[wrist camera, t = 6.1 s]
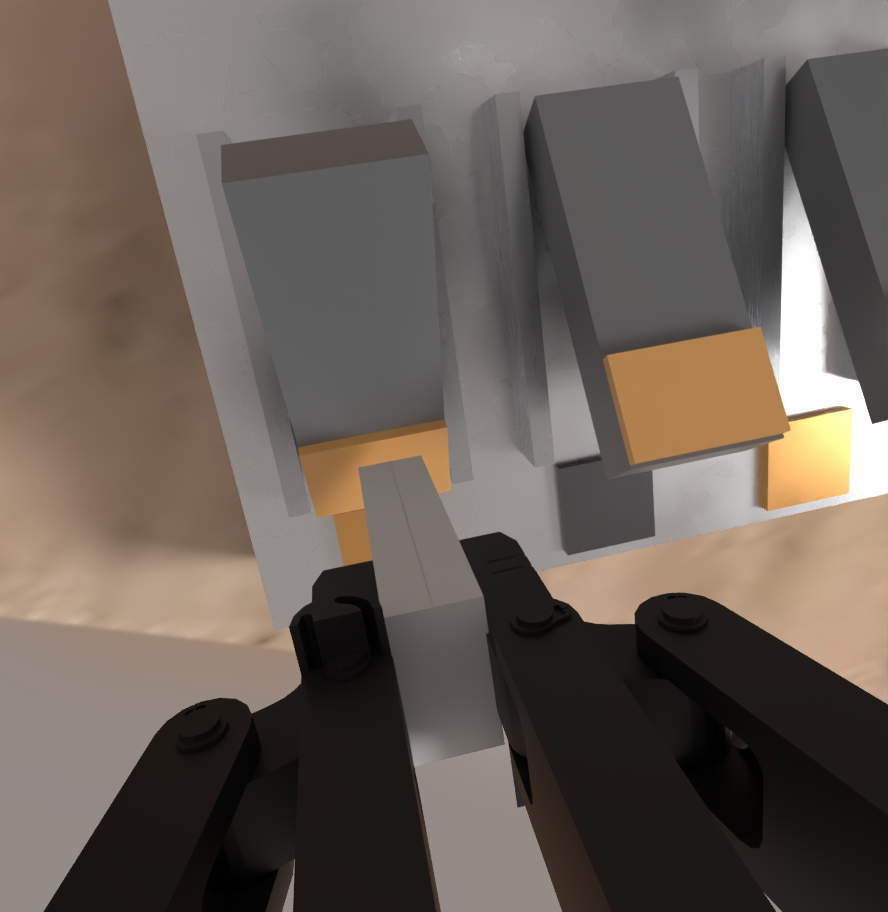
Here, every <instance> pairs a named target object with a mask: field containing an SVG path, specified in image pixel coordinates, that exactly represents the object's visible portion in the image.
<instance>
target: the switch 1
mask: <svg viewBox="0 0 888 912" xmlns="http://www.w3.org/2000/svg"><path fill="white" fill-rule="evenodd" d="M221 176H222V186H223V190H224V193H225V197H226V200H227V204H228V207H229V211H230V214H231V218H232V221H233V225H234V228H235V231H236V235H237V238H238V242H239V245H240V249H241V252H242V256H243V259H244V263H245V266H246V269H247V273H248V276H249V280H250V283H251V287H252V290H253V294H254V297H255V301H256V304H257V308H258V311H259V314H260V318H261V321H262V325H263V328H264V332H265V335H266V339H267V342H268V346H269V349H270V352H271V356H272V359H273V363H274V366H275V370H276V373H277V377H278V380H279V384H280V387H281V391H282V394H283V397H284V401H285V404H286V408H287V411H288V415H289V418H290V422H291V425H292V429H293V432H294V435H295V439H296V442H297V446H298V452H299V458H300V461H301V465H302V468H303V472H304V475H305V479H306V482H307V486H308V489H309V492H310V496H311V499H312V503H313V506H314V510H315V513H316V516H317V518H321V517H326V516H331V515H336V514H340V513H345V512H350V511H355V510H360V509H365V508H364V502H363V496H362V490H361V483H360V477H359V471H358V467H363V466H369V465H374V464H379V463H384V462H389V461H394V460H399V459H405V458H410V457H415V456H420V455H421V456H422V458H423V461H424V463H425V465H426V467H427V470H428V472H429V474H430V477H431V479H432V481H433V483H434V486H435V488H436V490H437V492H438V493H443V492H448V491H451V484H450V466H449V447H448V429H447V425H446V422H445V417H444V400H443V383H442V366H441V348H440V331H439V314H438V297H437V280H436V263H435V246H434V228H433V211H432V194H431V177H430V160H429V153H428V151H427V149H426V147H425V145H424V143H423V141H422V139H421V137H420V135H419V133H418V131H417V129H416V127H415V125H414V123H413V121H412V119H408V120H401V121H394V122H386V123H379V124H372V125H364V126H357V127H350V128H342V129H335V130H328V131H320V132H313V133H306V134H298V135H291V136H284V137H276V138H269V139H261V140H254V141H247V142H239V143H232V144H225V145H221Z"/></svg>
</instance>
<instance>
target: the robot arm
mask: <svg viewBox="0 0 888 912" xmlns="http://www.w3.org/2000/svg"><path fill="white" fill-rule="evenodd" d="M358 471H359V477H360V483H361V490H362V496H363V502H364V508H365V515H366V521H367V527H368V534H369V540H370V546H371V552H372V559H373V560H371V561H366V562H361V563H357V564H352V565H347V566H342V567H338V568H333V569H328V570H323V571H322V573H321V574H320V576H319V577H318V578H317V580H316V581H315V583H314V584H313V585H312V602H311V603H309V604H307V605H305V606H304V607H303V608H301V609H300V610H299V611H298V612H297V613H296V614H295V615H294V616H293V618H292V621H291V623H290V626H289V629H290V633H291V636H292V640H293V644H294V648H295V652H296V656H297V660H298V664H299V667H300V671H301V675H302V678H301V684H300V685H299V686H298V687H297V688H296V689H295V690H294V691H293V692H291V693H290V694H289V695H287V696H286V697H285V698H283V699H281V700H279V701H278V702H276V703H274V704H272V705H270V706H268V707H266V708H263V709H261V710H259V711H257V712H255V713H252V714H251V712H250V710H249V708H248V706H247V705H246V704H244V703H243V702H241V701H239V700H237V699H228V698H217V699H212V700H207V701H202V702H200V703H197V704H195V705H192V706H190V707H188V708H186V709H184V710H182V711H181V712H179V713H178V714H176V715H175V716H174V717H172V718H171V719H169V720H168V721H167V722H166V723H165V724H164V725H163V726H162V727H161V728H160V730H159V731H158V732H157V733H156V734H155V735H154V737H153V739H152V740H151V742H150V743H149V745H148V747H147V748H146V750H145V751H144V753H143V755H142V756H141V758H140V759H139V761H138V762H137V764H136V766H135V767H134V769H133V770H132V772H131V774H130V775H129V777H128V779H127V780H126V782H125V783H124V785H123V786H122V788H121V790H120V791H119V793H118V794H117V796H116V797H115V799H114V801H113V802H112V804H111V806H110V807H109V809H108V810H107V812H106V814H105V815H104V817H103V818H102V820H101V821H100V823H99V825H98V826H97V828H96V829H95V831H94V833H93V834H92V836H91V837H90V839H89V840H88V842H87V844H86V845H85V847H84V849H83V850H82V852H81V853H80V855H79V856H78V858H77V859H76V861H75V863H74V864H73V866H72V868H71V869H70V871H69V872H68V874H67V875H66V877H65V879H64V880H63V882H62V883H61V885H60V887H59V888H58V890H57V891H56V893H55V894H54V896H53V898H52V899H51V901H50V903H49V904H48V906H47V907H46V909H45V910H44V912H282V909H283V906H284V903H285V899H286V896H287V892H288V889H289V885H290V882H291V879H292V876H293V867H294V859H295V876H294V905H293V912H441V910H440V904H439V899H438V893H437V888H436V882H435V877H434V871H433V866H432V860H431V854H430V849H429V843H428V838H427V832H426V827H425V821H424V816H423V810H422V804H421V799H420V794H419V788H418V783H417V778H416V774H415V768H414V766H418V765H422V764H427V763H430V762H435V761H439V760H443V759H446V758H451V757H455V756H459V755H463V754H467V753H471V752H475V751H479V750H483V749H487V748H492V747H496V746H500V745H504V744H505V743H504V736H503V729H502V725H503V728H504V731H505V733H506V736H507V739H508V742H509V750H510V757H511V764H512V771H513V778H514V785H515V792H516V799H517V806H518V807H521V806H525V807H526V809H527V812H528V815H529V818H530V821H531V824H532V827H533V829H534V832H535V835H536V838H537V841H538V844H539V846H540V849H541V852H542V855H543V858H544V861H545V864H546V866H547V869H548V872H549V875H550V878H551V881H552V883H553V886H554V889H555V892H556V895H557V898H558V900H559V903H560V906H561V909H562V912H776V911H775V909H774V908H773V906H772V905H771V903H770V902H769V900H768V899H767V897H766V896H765V894H766V895H767V896H768V897H769V898H770V899H771V900H772V901H773V902H774V904H776V906H778V908H779V909H780V910H781V911H782V912H888V704H886V703H884V702H883V701H881V700H879V699H878V698H876V697H874V696H873V695H871V694H869V693H868V692H866V691H864V690H863V689H861V688H859V687H858V686H856V685H854V684H853V683H851V682H849V681H848V680H846V679H844V678H843V677H841V676H839V675H838V674H836V673H834V672H833V671H831V670H829V669H828V668H826V667H824V666H823V665H821V664H819V663H818V662H816V661H814V660H813V659H811V658H809V657H808V656H806V655H804V654H803V653H801V652H799V651H798V650H796V649H794V648H793V647H791V646H789V645H788V644H786V643H784V642H783V641H781V640H779V639H778V638H776V637H774V636H773V635H771V634H769V633H768V632H766V631H764V630H763V629H761V628H759V627H758V626H756V625H754V624H753V623H751V622H749V621H748V620H746V619H744V618H743V617H741V616H739V615H738V614H736V613H734V612H733V611H731V610H729V609H728V608H726V607H724V606H723V605H721V604H719V603H718V602H715V601H713V600H711V599H708V598H706V597H704V596H700V595H694V594H688V593H667V594H663V595H659V596H655V597H651V598H650V599H648V600H646V601H645V602H643V603H641V604H640V605H639V607H638V609H637V610H636V612H635V624H615V625H607V624H594V623H588V622H584V621H583V620H582V618H581V617H580V615H579V614H578V612H577V611H576V610H575V609H573V608H572V607H571V606H570V605H569V604H567V603H564V602H562V601H559V600H556V599H553V598H552V596H551V594H550V593H549V591H548V590H547V588H546V586H545V585H544V583H543V582H542V580H541V579H540V577H539V575H538V574H537V572H536V571H535V569H534V567H532V565H531V563H530V561H529V559H528V558H527V556H525V553H524V551H523V550H522V548H521V547H520V545H519V543H518V542H517V540H515V539H513V538H511V537H509V536H507V535H505V534H503V533H501V532H495V533H490V534H485V535H481V536H476V537H471V538H466V539H462V540H458V537H457V535H456V533H455V531H454V528H453V526H452V524H451V522H450V519H449V517H448V515H447V513H446V510H445V508H444V506H443V504H442V501H441V499H440V497H439V495H438V492H437V490H436V488H435V486H434V483H433V481H432V479H431V477H430V474H429V472H428V470H427V467H426V465H425V463H424V461H423V458H422V456H421V455H420V456H415V457H410V458H405V459H399V460H394V461H389V462H384V463H379V464H374V465H369V466H363V467H358ZM763 892H764V893H765V894H764V893H763Z"/></svg>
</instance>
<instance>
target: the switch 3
mask: <svg viewBox="0 0 888 912" xmlns="http://www.w3.org/2000/svg"><path fill="white" fill-rule="evenodd" d="M784 145H785V149H786V152H787V155H788V158H789V161H790V165H791V168H792V171H793V174H794V177H795V181H796V184H797V187H798V190H799V193H800V197H801V200H802V203H803V206H804V209H805V213H806V216H807V219H808V222H809V225H810V229H811V232H812V235H813V238H814V241H815V244H816V248H817V251H818V254H819V257H820V260H821V264H822V267H823V270H824V273H825V276H826V280H827V283H828V286H829V289H830V292H831V296H832V299H833V302H834V305H835V308H836V312H837V315H838V318H839V321H840V324H841V328H842V331H843V334H844V337H845V340H846V344H847V347H848V350H849V353H850V356H851V360H852V363H853V366H854V369H855V372H856V376H857V379H858V382H859V385H860V388H861V391H862V395H863V398H864V401H865V404H866V407H867V411H868V414H869V417H870V420H871V423H872V424H876V423H881V422H886V421H888V48H886V49H879V50H872V51H864V52H857V53H849V54H842V55H834V56H827V57H820V58H812V59H807V60H806V62H805V63H804V64H803V65H802V66H801V68H800V69H799V70H798V71H797V72H796V74H795V75H794V76H793V77H792V78H791V80H790V81H789V82H788V83H787V84H786V95H785V144H784Z"/></svg>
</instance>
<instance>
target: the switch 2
mask: <svg viewBox="0 0 888 912" xmlns="http://www.w3.org/2000/svg"><path fill="white" fill-rule="evenodd" d="M523 135H524V145H525V156H526V160H527V164H528V168H529V172H530V176H531V180H532V184H533V188H534V192H535V195H536V199H537V203H538V207H539V211H540V215H541V219H542V223H543V227H544V231H545V235H546V239H547V243H548V247H549V251H550V255H551V259H552V263H553V267H554V271H555V275H556V279H557V283H558V287H559V291H560V295H561V299H562V303H563V307H564V311H565V315H566V319H567V323H568V327H569V331H570V335H571V339H572V343H573V347H574V351H575V355H576V359H577V363H578V367H579V371H580V374H581V378H582V382H583V386H584V390H585V394H586V398H587V402H588V406H589V410H590V414H591V418H592V422H593V426H594V430H595V434H596V438H597V442H598V446H599V450H600V454H601V458H602V462H603V466H604V470H605V474H606V478H607V480H608V479H613V478H617V477H622V476H627V475H632V474H637V473H641V472H646V471H651V470H656V469H661V468H665V467H670V466H675V465H680V464H685V463H689V462H694V461H699V460H704V459H708V458H713V457H718V456H723V455H728V454H732V453H737V452H742V451H747V450H750V449H753V448H756V447H759V446H762V445H765V444H768V443H771V442H774V441H777V440H780V439H783V438H784V435H783V433H786V432H789V431H791V429H790V425H789V422H788V419H787V415H786V412H785V409H784V405H783V402H782V398H781V395H780V392H779V388H778V385H777V381H776V378H775V375H774V371H773V368H772V364H771V361H770V358H769V354H768V351H767V347H766V344H765V341H764V337H763V334H762V330H761V327H756V328H752V326H751V322H750V319H749V315H748V312H747V309H746V305H745V302H744V298H743V295H742V291H741V288H740V285H739V281H738V278H737V274H736V271H735V268H734V264H733V261H732V257H731V254H730V250H729V247H728V244H727V240H726V237H725V233H724V230H723V227H722V223H721V220H720V216H719V213H718V209H717V206H716V203H715V199H714V196H713V192H712V189H711V186H710V182H709V179H708V175H707V172H706V168H705V165H704V162H703V158H702V155H701V151H700V148H699V145H698V141H697V138H696V134H695V131H694V127H693V124H692V121H691V117H690V114H689V110H688V107H687V104H686V100H685V97H684V93H683V90H682V86H681V83H680V80H679V77H671V78H664V79H656V80H649V81H642V82H634V83H627V84H619V85H612V86H605V87H597V88H590V89H582V90H575V91H567V92H560V93H553V94H545V95H538V96H535V97H534V100H533V103H532V106H531V109H530V113H529V116H528V119H527V122H526V125H525V128H524V131H523Z"/></svg>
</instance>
